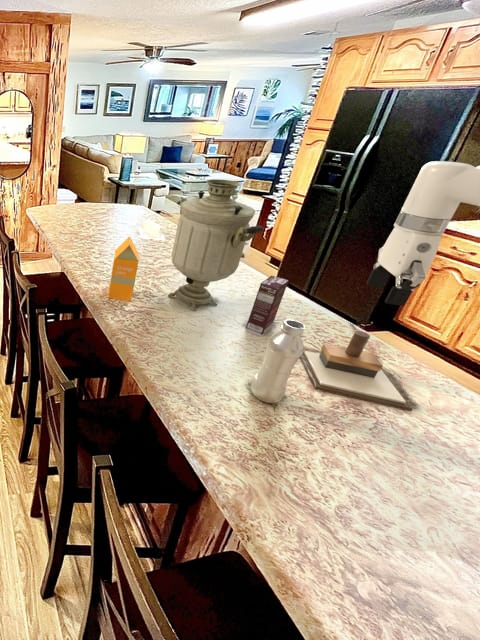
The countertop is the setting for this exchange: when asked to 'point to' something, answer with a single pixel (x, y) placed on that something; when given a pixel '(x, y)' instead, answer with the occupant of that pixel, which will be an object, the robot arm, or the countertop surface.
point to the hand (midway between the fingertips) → (383, 294)
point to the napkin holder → (151, 231)
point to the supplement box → (266, 305)
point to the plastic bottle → (279, 362)
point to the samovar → (210, 240)
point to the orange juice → (124, 271)
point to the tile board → (353, 383)
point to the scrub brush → (351, 357)
